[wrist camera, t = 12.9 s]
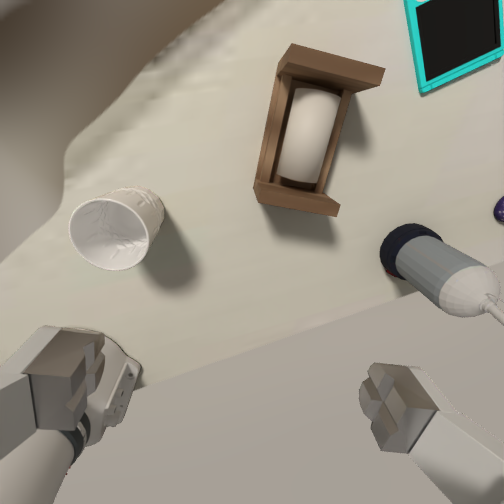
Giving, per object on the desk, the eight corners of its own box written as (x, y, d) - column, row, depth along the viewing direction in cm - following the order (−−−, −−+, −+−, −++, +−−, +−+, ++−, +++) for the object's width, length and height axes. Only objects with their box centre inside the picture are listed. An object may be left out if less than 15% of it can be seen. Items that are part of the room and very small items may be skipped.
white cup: (181, 210, 38) (164, 236, 29) (145, 248, 40) (119, 284, 31) (132, 167, 35) (97, 181, 26) (96, 210, 37) (52, 237, 28)
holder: (316, 200, 39) (336, 217, 31) (253, 188, 37) (258, 202, 30) (351, 81, 33) (385, 68, 26) (278, 63, 32) (291, 43, 25)
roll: (304, 178, 37) (324, 187, 33) (269, 172, 35) (286, 181, 31) (325, 98, 33) (351, 96, 29) (288, 87, 31) (310, 83, 27)
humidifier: (380, 277, 44) (537, 436, 21) (378, 230, 41) (561, 358, 18) (431, 266, 44) (645, 414, 21) (433, 217, 41) (690, 330, 18)
